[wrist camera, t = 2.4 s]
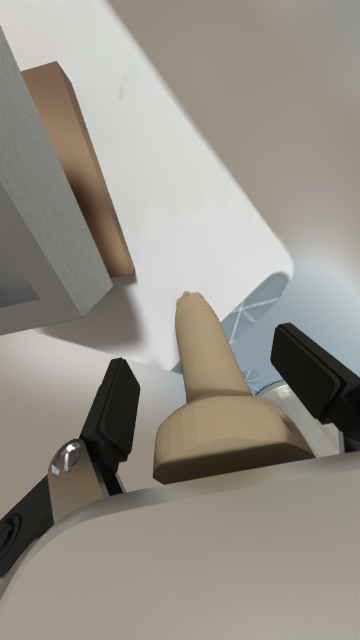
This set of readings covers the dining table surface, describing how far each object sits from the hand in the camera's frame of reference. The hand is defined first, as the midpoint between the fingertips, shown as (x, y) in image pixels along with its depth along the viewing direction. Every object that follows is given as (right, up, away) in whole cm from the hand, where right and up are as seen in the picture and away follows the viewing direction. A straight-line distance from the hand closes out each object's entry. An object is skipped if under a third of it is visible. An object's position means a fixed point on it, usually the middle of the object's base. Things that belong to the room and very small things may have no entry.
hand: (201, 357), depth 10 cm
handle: (0, +5, +9) cm, 10 cm away
